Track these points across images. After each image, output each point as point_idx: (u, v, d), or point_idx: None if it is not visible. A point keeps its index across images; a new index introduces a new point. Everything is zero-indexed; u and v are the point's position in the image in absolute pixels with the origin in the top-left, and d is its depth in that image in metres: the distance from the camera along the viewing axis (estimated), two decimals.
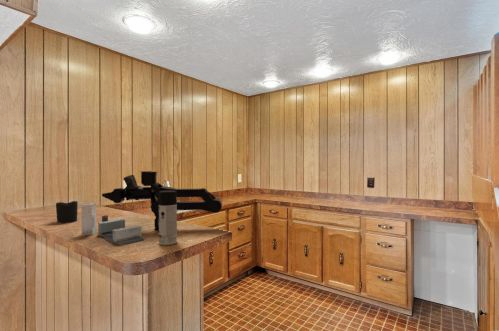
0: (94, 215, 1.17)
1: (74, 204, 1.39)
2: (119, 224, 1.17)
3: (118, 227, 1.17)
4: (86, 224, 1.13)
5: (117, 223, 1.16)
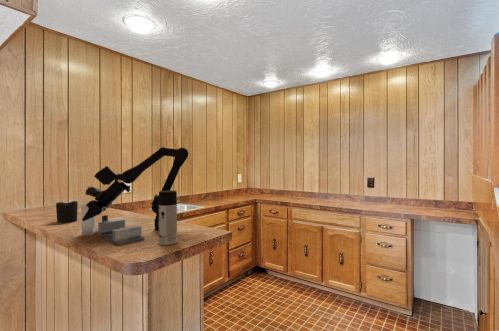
0: None
1: (74, 204, 1.39)
2: (119, 224, 1.17)
3: (118, 227, 1.17)
4: (86, 224, 1.13)
5: (117, 223, 1.16)
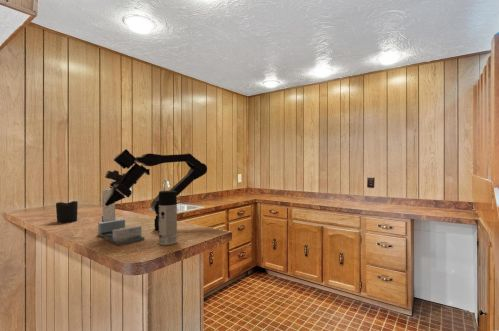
0: None
1: (74, 204, 1.39)
2: (119, 224, 1.17)
3: (118, 227, 1.17)
4: (109, 210, 1.08)
5: (117, 223, 1.16)
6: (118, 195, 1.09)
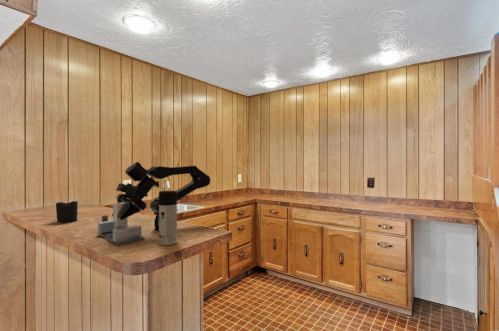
0: None
1: (74, 204, 1.39)
2: None
3: None
4: (121, 224, 1.08)
5: None
6: (133, 209, 1.08)
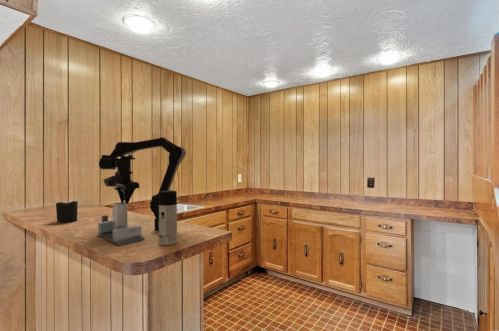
0: None
1: (74, 204, 1.39)
2: None
3: None
4: (121, 224, 1.08)
5: None
6: (129, 190, 1.22)
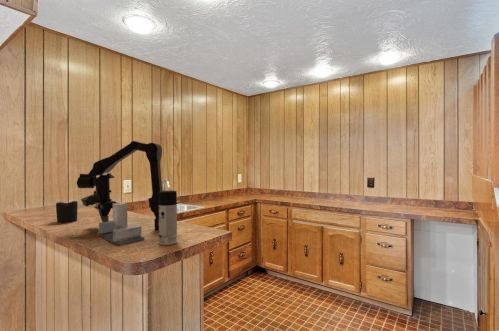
0: None
1: (74, 204, 1.39)
2: None
3: None
4: (121, 224, 1.08)
5: None
6: (105, 209, 1.23)
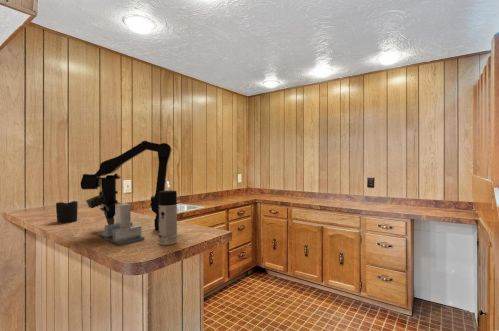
0: None
1: (74, 204, 1.39)
2: None
3: None
4: (125, 225, 1.06)
5: None
6: (111, 211, 1.18)
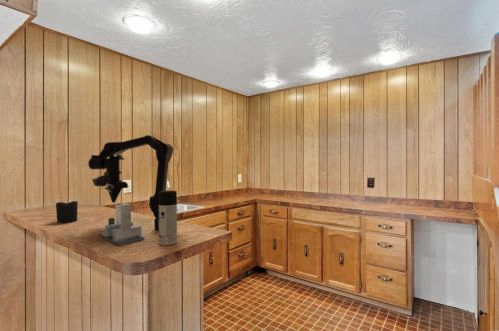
0: None
1: (74, 204, 1.39)
2: None
3: None
4: (125, 225, 1.06)
5: None
6: (116, 190, 1.25)
